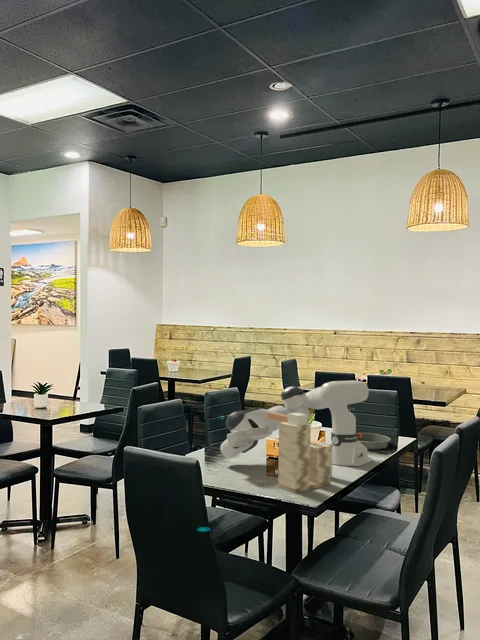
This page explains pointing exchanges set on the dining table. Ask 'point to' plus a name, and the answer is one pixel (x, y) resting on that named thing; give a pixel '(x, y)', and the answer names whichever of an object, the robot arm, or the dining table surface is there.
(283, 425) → the stepped wooden stack
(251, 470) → the dining table surface
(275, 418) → the block hammer
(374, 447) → the cake pan
